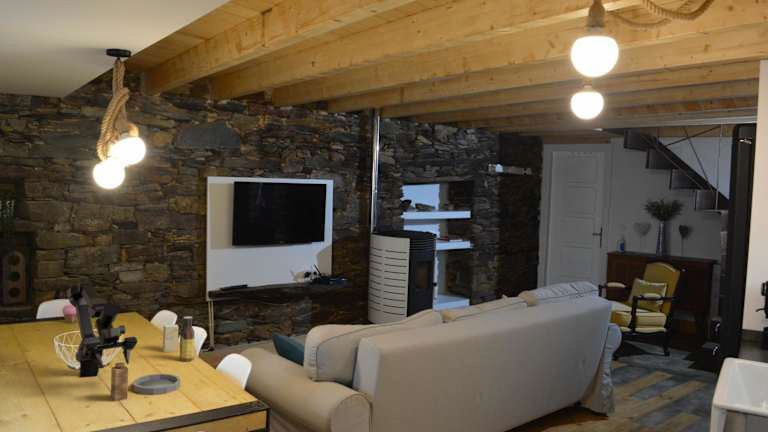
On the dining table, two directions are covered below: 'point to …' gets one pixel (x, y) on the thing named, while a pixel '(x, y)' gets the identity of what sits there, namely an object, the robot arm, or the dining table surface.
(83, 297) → the robot arm
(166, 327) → the skincare box
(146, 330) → the dining table surface
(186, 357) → the sauce bottle
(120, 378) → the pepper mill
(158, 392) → the slate dish
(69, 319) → the cupcake
